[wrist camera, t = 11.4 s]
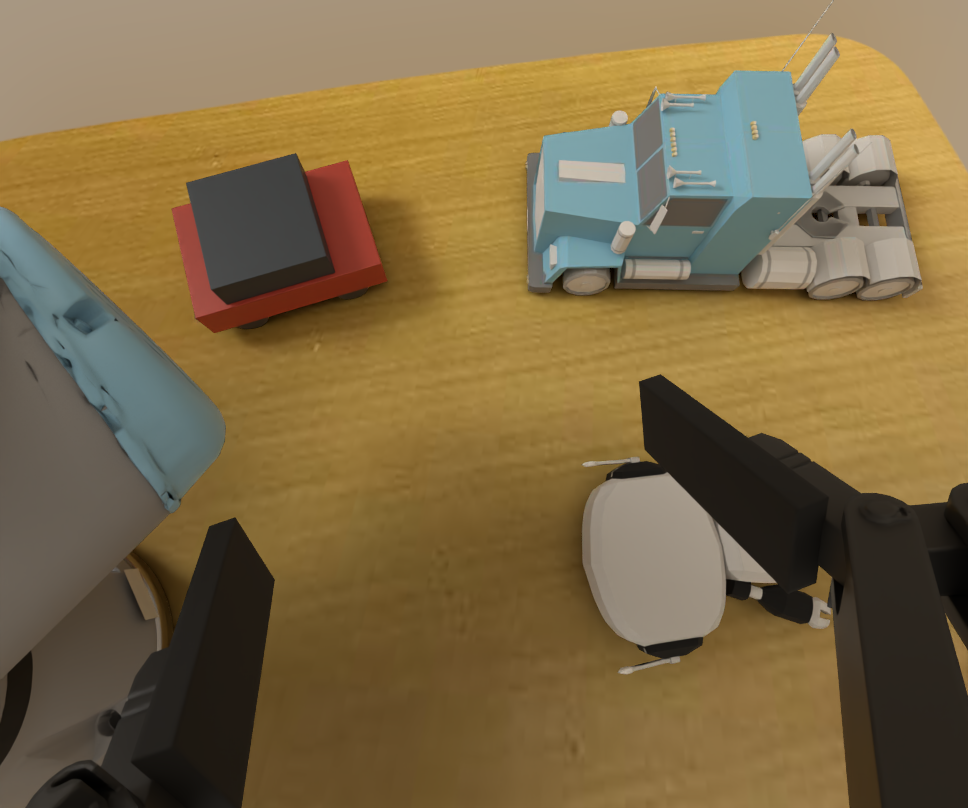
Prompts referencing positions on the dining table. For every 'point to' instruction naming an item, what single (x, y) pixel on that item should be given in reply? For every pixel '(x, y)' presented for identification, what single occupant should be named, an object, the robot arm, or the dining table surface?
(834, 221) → the truck
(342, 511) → the dining table surface
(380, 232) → the dining table surface
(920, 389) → the dining table surface
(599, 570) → the robot toy
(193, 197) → the toy car
